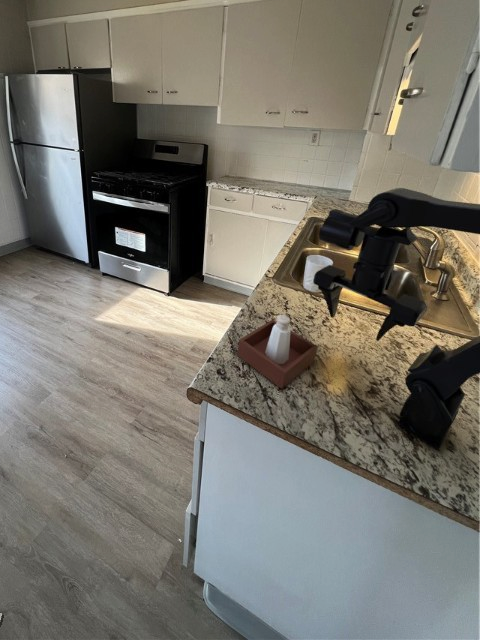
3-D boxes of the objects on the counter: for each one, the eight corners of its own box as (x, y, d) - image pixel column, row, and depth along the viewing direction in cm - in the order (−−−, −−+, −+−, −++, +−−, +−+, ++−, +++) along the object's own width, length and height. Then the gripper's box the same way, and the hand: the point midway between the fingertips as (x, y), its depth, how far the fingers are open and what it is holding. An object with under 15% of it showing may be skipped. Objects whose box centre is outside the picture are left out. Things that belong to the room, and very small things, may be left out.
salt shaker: (267, 346, 76) (273, 308, 71) (290, 353, 74) (298, 314, 69) (262, 360, 72) (268, 321, 67) (286, 368, 70) (294, 328, 65)
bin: (314, 361, 73) (318, 346, 71) (281, 389, 65) (285, 372, 63) (270, 333, 81) (272, 319, 79) (237, 355, 74) (238, 339, 72)
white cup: (299, 280, 107) (304, 253, 103) (323, 282, 106) (329, 256, 102) (303, 292, 100) (309, 264, 96) (328, 294, 99) (336, 267, 95)
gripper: (450, 265, 55) (419, 335, 62) (346, 233, 68) (330, 294, 75) (430, 285, 49) (398, 361, 55) (319, 246, 61) (304, 311, 68)
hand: (354, 327), depth 63 cm, fingers open, 9 cm apart
